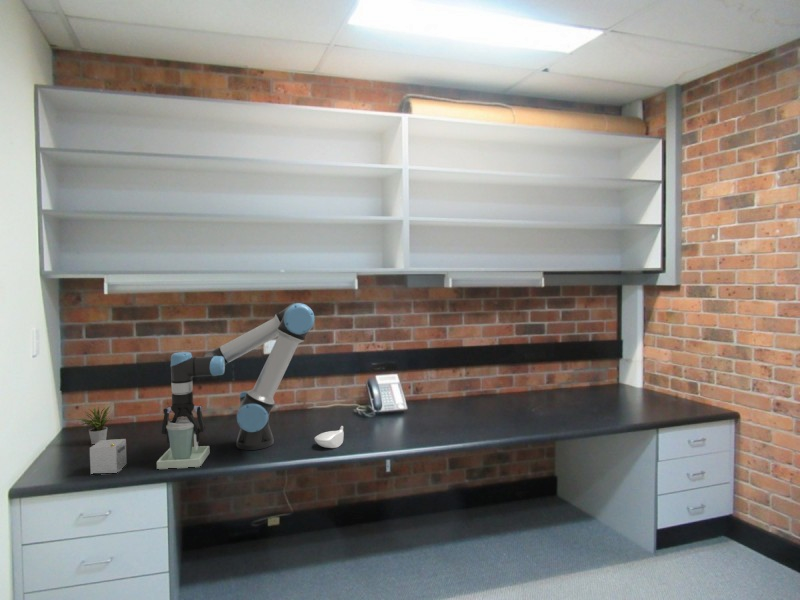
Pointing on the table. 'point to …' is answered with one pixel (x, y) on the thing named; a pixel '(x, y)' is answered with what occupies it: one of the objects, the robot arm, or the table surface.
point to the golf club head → (330, 438)
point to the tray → (193, 461)
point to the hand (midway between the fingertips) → (184, 450)
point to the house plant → (97, 425)
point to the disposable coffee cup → (181, 438)
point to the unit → (108, 456)
